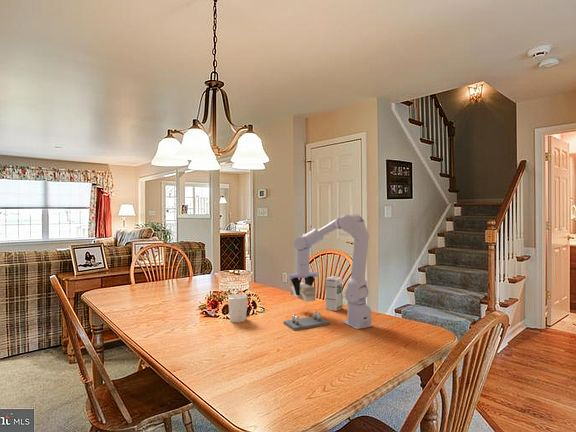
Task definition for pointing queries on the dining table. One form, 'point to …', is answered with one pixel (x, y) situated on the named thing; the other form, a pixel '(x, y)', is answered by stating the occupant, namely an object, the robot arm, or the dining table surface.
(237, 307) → the white cup
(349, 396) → the dining table surface
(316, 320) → the peg stand
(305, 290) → the white blocky piece
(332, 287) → the syrup box
